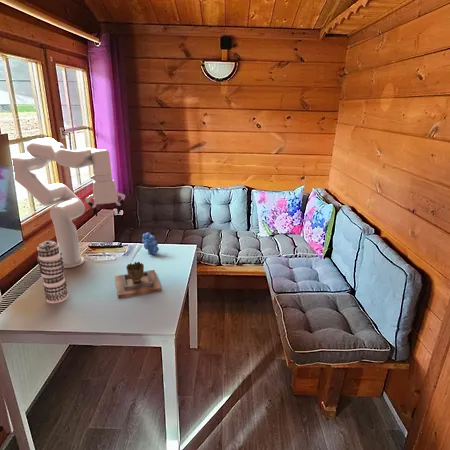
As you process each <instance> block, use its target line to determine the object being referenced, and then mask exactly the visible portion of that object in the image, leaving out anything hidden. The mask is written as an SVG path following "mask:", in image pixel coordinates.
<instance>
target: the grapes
mask: <svg viewBox="0 0 450 450" xmlns="http://www.w3.org/2000/svg"><path fill="white" fill-rule="evenodd" d="M141 242H142V243H143V247H144V249H145V250H147V253H148V254H150V255H152V254H153V255H157V253H158V252H159V250H160V248H159V247H158V244H159V243H158V241H157V240H155V235H153V234H151V233H150V232H148V231H147V232H146V233H143V234H142V239H141Z"/></svg>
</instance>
